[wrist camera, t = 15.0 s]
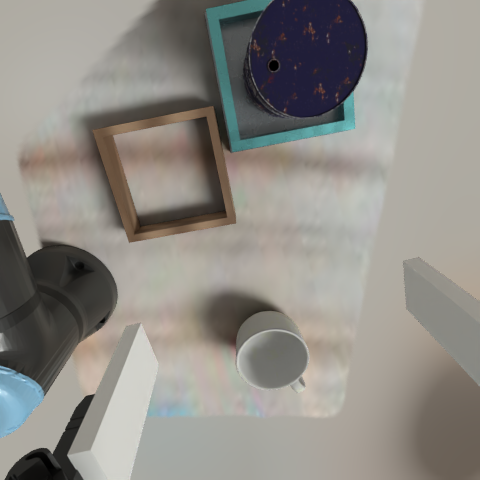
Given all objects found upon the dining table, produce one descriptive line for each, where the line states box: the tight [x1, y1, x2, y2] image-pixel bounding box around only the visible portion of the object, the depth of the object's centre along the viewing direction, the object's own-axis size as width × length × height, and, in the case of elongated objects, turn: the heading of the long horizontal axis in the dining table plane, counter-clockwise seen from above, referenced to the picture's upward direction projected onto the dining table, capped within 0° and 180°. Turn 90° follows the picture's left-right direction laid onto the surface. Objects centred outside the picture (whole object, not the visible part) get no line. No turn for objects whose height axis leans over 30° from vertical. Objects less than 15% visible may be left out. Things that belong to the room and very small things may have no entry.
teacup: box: [236, 311, 309, 393], centre depth 52 cm, size 14×11×8 cm
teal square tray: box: [205, 0, 355, 153], centre depth 40 cm, size 16×16×4 cm
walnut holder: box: [92, 106, 236, 243], centre depth 44 cm, size 15×15×4 cm
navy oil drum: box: [243, 0, 368, 119], centre depth 34 cm, size 10×10×15 cm
